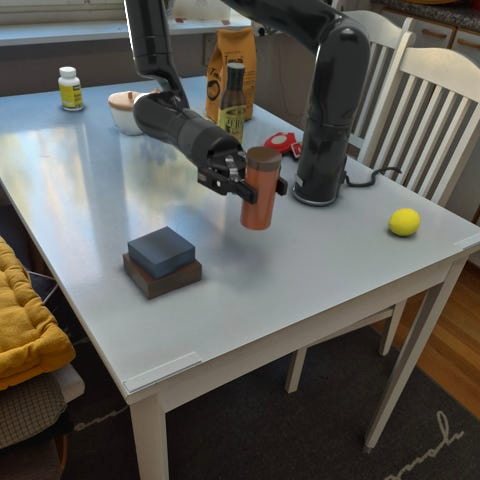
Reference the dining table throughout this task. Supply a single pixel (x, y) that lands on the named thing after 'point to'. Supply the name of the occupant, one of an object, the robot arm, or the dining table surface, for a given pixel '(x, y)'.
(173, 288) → the block stack
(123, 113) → the trinket box
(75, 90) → the supplement bottle
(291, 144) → the tracker holder
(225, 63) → the coffee package
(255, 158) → the terracotta canister
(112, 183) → the dining table surface
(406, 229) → the lemon
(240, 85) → the sauce bottle
